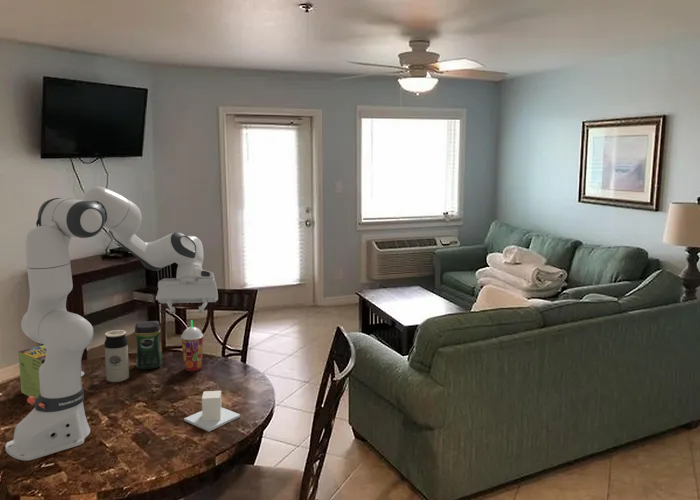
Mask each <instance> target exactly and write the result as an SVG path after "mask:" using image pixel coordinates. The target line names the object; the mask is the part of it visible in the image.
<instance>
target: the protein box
mask: <svg viewBox="0 0 700 500" xmlns="http://www.w3.org/2000/svg"><path fill="white" fill-rule="evenodd" d="M46 352H47V350H46V346H45V345H43V344H42V345H40V346H35V347H30V348H27V349H23V350H19V351H18V363H19V364H18V365H19V378H20V390H21V391H20V392H21V394H24V395H25V396H27V397H28V398H29V397H30V396H33V397H34V398H36V399H37V398H38V396H39V394H40V382H39V368H40V366H41V365H42V364H43V363H44V362H45V358H46Z"/></svg>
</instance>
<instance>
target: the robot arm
mask: <svg viewBox="0 0 700 500" xmlns="http://www.w3.org/2000/svg"><path fill="white" fill-rule="evenodd" d="M142 218H143V215H142V211H141V209H140V208H139V206H137V204H135V203H134V202H133V201H131V200H130V199H128V198H126V197H125V196H124V195H122V194H120V193H118V192H117V191H116V192H115V191H114V190H111V189H109V188H106V187H103V186H99V185H98V186H93V187H91V188H89V189H88V190H87V191H86V192H85V193H84V194H83V197H82V198H81V199H76V198H71V197H70V198H68V197H67V198H65V197H64V198H63V197H55V198H50V199H48V200H46V201H44V202H43V203H42V204H41V205H40V207H39V210H38V213H37V220H36V222H35V224H36V227H34V228H32V229H31V230H29V231H28V233H27V235H26V240H25V260H26V262H25V263H26V269H27V279H28V287H29V299H28V300H29V301H28V305H27V306H28V307H27V311H26V312H25V314H24V315H23V316H22V319H21V323H20V324H21V325H20V327H21V331H22V332H23V333H24V334H25V336H27V337H28V339H30V340H31V341H33V342H35V343H37V344H39V345H40V344H41V345H42V346H43V345H45V346H46V350H47V352H46V358H45V362H44V363H43V364H42V365H41V366H40V368H39V382H40V394H39V396H38V398H37V399H36V398H34V397H33V396H30V397H29V396H28V398H26V401H27V403H28V404H30V405H34V407H33V409H31V411H30V412H29V413H28V414H27V415H26V416H25V417H24V418H22V419H21V421H20V422H18V423H17V424H16V426H15V428H14V432H13V439H12V440H9V441H7V442H6V444H5V447H4V449H5V453H7V455H8V456H10V457H12V458H14V459H16V460H20V461H25V462H27V461H32V460H33V461H34V460H36V459H39V458H43V457H46V456H49V455H52V454H54V453H58V452H61V451H65V450H69V449H71V448H75V447H79V446H81V445H82V444H83V445H84V444H85V439H86V438H87V437H88V436H89V435H90V433H91V428H90V426H89V423H88V420H87V417H86V413H85V407H84V404H85V394H84V387H83V386H82V376H81V371H82V358H83V354H84V351H85V349H86V348H88V346H89V345H90V344H91V342H92V340H93V337H94V327H93V325H92V323H90V322H89V321H88V319H86V318H84V316H81V315H79V314H78V313H74V312H70V311H68V310H67V300H68V298H67V297H68V295H69V294H70V293H71V291H73V286H74V285H73V276H72V274H73V273H72V268H71V267H72V266H71V259H70V254H69V245H70V242H71V239H72V238H80V239H88V238H91V237H95V236H96V235H98V234H99V233H100V232H101V231H102V229H103V228H104V227H105V228H106V229H108V230H109V233H110V235H111V237H112V239H113V240H114V241H115V242H116V243H117V244H118V245H120V246H121V247H122V248H123V249H124V250H126V251H127V252H129V253H130V254H131V255H132V256H134V257H135V258H136V259H138V261H140V263H141V264H142V265H143V266H144V267H145V268H146V269H148V270H150V271H154V272H157V271H160V270H162V269H164V268H166V267H167V266H170V265H172V264H174V263H175V264H177V268H176V275H175V276H176V277H172V278H171V277H170V278H166V277H165V278H163V279H160V280H159V281H158V282H157V288H158V290H157V292H156V299H157V302H158V303H160V304H167V307H168V308H169V314H173V315H174V314H176V308H175V306H173V304H186V303H187V304H189V303H197V304H198V303H202V305H200V306H198V313H199V314H204V312H205V309H206V307H207V305H208V303H216V302H217V301H218V300H219V293H218V285H217V283H216V278H215V274H214V272H211V271H208V270H204V269H203V264H204V246H203V242H202V240H201V239H200V238H198V237H197V236H194V235H186V234H184V233H182V232H180V231H179V232H178V231H175V232H172V233H169V234H167V235H165V236H163V237H161V238H159V239H156V240H154V241H150V242H149V241H148V242H147V241H144V240H142V239H141V238H140V237H139V236H138V235H136V233H137V232H138V230H139V229H140V227H141V224H142Z"/></svg>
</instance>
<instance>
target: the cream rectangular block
mask: <svg viewBox="0 0 700 500" xmlns="http://www.w3.org/2000/svg"><path fill="white" fill-rule="evenodd" d="M222 403H223V402H222V390H210V391H209V390H207V391H203V393H202V396H201V411H202V421H210V420H221V414H222V405H223V404H222Z"/></svg>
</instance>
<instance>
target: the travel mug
mask: <svg viewBox="0 0 700 500" xmlns="http://www.w3.org/2000/svg"><path fill="white" fill-rule="evenodd" d="M126 335H127V331H126V330H123V329H116V330H110V331H109V330H108V331H107V332H105V333H104V336H105V340H104V358H105V359H104V360H105V373H106V374H105V378H106V381H108V382H110V383H119V382H123V381H126V380H127V379H129V378H130V364H129V349H128V347H129V345H128V339H127V337H126Z"/></svg>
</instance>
